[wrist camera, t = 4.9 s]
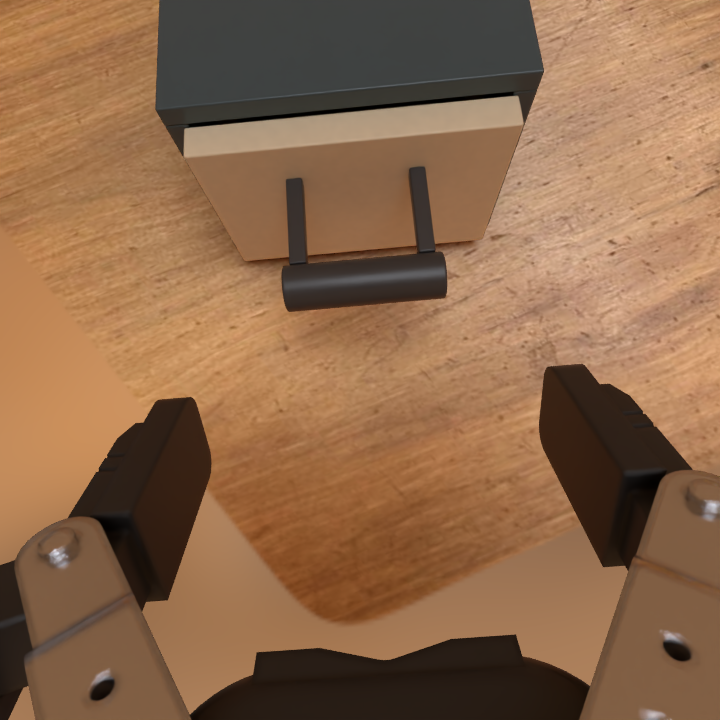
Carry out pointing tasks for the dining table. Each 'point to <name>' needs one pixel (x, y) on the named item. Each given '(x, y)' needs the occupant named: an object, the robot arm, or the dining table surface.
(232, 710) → the robot arm
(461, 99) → the drawer
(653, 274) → the dining table surface
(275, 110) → the cabinet
